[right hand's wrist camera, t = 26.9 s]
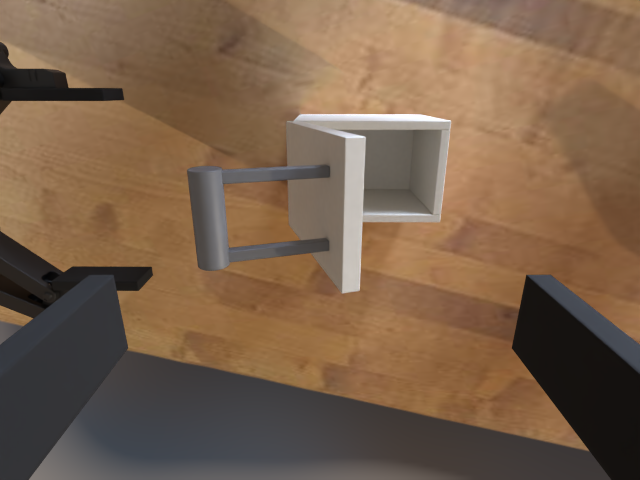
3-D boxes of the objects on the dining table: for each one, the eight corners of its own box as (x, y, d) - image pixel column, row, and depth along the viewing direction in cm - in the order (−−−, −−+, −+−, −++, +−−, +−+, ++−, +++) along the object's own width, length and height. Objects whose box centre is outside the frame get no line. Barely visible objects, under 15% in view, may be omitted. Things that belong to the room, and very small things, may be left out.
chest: (420, 114, 44) (451, 120, 34) (413, 194, 47) (440, 222, 37) (299, 114, 44) (293, 120, 34) (301, 193, 47) (295, 222, 37)
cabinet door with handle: (366, 136, 21) (182, 142, 18) (359, 291, 24) (202, 314, 21) (299, 120, 33) (184, 123, 31) (301, 223, 36) (197, 233, 34)
